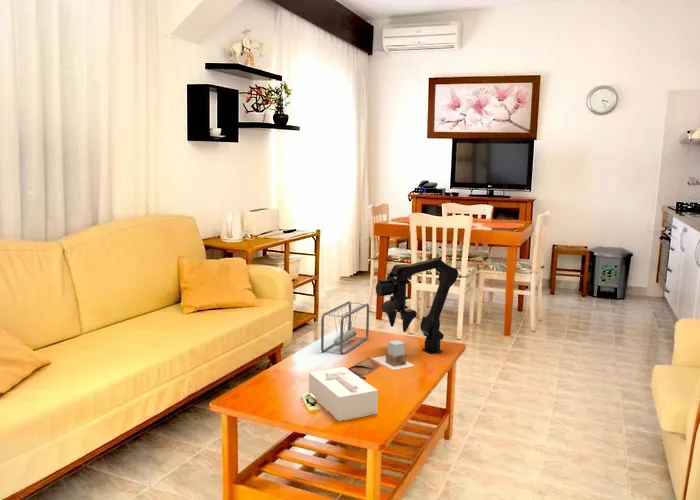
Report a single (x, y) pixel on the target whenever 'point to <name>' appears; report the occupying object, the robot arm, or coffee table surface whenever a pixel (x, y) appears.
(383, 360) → the plate
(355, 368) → the sunglasses case
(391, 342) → the top block
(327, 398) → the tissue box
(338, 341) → the newton's cradle
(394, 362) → the base block
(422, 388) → the coffee table surface
